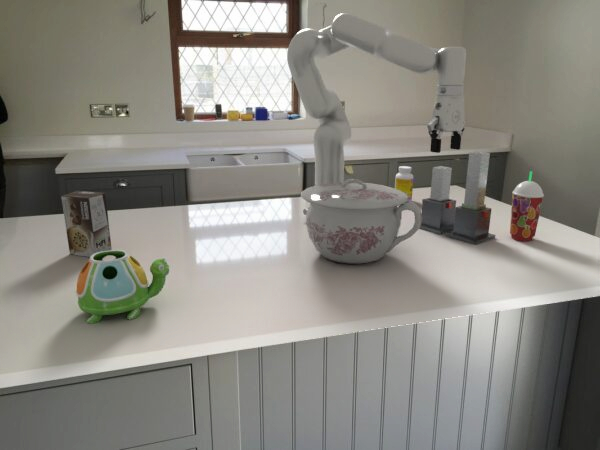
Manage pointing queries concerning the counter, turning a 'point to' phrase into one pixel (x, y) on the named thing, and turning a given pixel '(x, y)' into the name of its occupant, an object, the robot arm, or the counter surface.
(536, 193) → the smoothie
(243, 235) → the counter surface
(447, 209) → the stand sleeve
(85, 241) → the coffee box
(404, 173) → the supplement bottle
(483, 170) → the twin stand
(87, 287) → the turtle holder
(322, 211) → the chamber pot
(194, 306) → the counter surface
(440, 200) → the column
